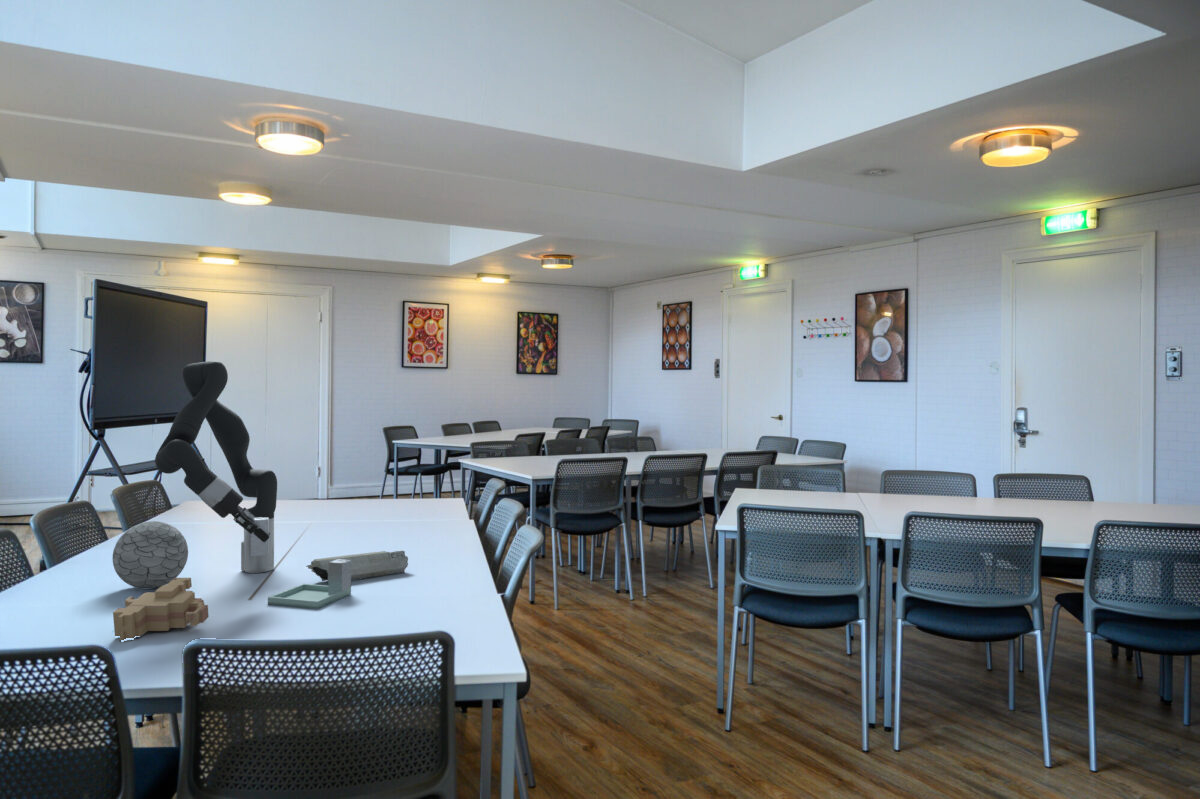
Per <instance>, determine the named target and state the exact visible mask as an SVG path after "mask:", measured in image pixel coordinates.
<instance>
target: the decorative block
mask: <svg viewBox="0 0 1200 799" xmlns="http://www.w3.org/2000/svg"><path fill="white" fill-rule="evenodd" d="M405 553H406V551H405V550H395V551H384V550H383V551H382V550H381V551H373V552H372V551H371V552H363V553H356V554H346V555H338V556H331V557H323V558H315V559H313V560H311V562H310V564H307V565H306V568H307V569H308V570H309V569H310V570H311V572H312V573H314V574H315V576H317V577H319V578H320V579H321V582H326V581H327V582H328V580H329V562H331V561H334V560H337V559H343V560H351V581H354V580H353V579H356V580H361V579H360V578H363V579H368V578H367V577H369V578H374V577H373V576H376V577H380V576H379V575H383V576H388V575H387V574H390V575H394V574H393V573H396V574H401V573H400V572H402V573H405V572H406V569H407V568H408V566H409V562H408V561H409V557H408V556H406V554H405ZM404 571H405V572H404Z"/></svg>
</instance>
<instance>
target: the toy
mask: <svg viewBox="0 0 1200 799" xmlns="http://www.w3.org/2000/svg"><path fill="white" fill-rule="evenodd" d="M192 585H193V584H192V577H176V578H174V580H172V581H170V582H169V583H168V584H166V585H162V586H161V587H158V588H156V590H155V591H154V592H144V593H143V594H141V595H140V596H139V597H137V598H134V596H129V597H128V598H126V599H125V600H124V605H125V607H118V608H117V609H115V610H114V611H113V612H112V616H113V619H112V620H113V628H114V637H115V636H120V638H119V641H120V640H124V639H126V638H134V637H135V636H141V635H142V634H143V635H144V634H145V633H147V632H168V631H169V630H171V629H174V628H175V629H181V628H182V629H185V628H186V627H187V626H188V625H189V626H190V627H194V626H195V627H197V626H198V625H199V624H203V623H205V621H206V620H207V619H208V618H209V604H205V602H204V599H202V598H198V597H197V598H196V594H195V591H193V590H189V589H191V587H192ZM143 635H142V636H143ZM142 636H141V637H142Z"/></svg>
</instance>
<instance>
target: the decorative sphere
mask: <svg viewBox="0 0 1200 799" xmlns="http://www.w3.org/2000/svg"><path fill="white" fill-rule="evenodd" d="M188 557H189V547H188V544H187V540H186V538H185V536H184V535H183V534H182V532H181V531H180V530H179V529H178V528H177V527H176V526H175V527H174V526H173V525H171V524H169V523H166V522H163V521H156V520H153V521H151V520H150V521H145V522H141V523H138V524H136V525H133V526H131V527H130V528H128V529H127V530H126V531H124V533H123V534H122V535H121V536H120V537H119V538H118V540H117V541H116V543H115V546H114V548H113V551H112V565H113V569H114V571H115V573H116V575H117V576H118V577H119V578H120V580H122V581H123V582H124V583H126V584H127V585H128V586H130V587H134V588H136V589H141V588H153V589H157V588H156V587H158V588H160V587H161V586H162V585H167V584H168V583H169V582H170V581H172V580H174V578H178V576H179V575H181V573H182V572H183V571H184V568H185V567H186V564H187V563H188Z"/></svg>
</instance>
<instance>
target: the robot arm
mask: <svg viewBox="0 0 1200 799" xmlns="http://www.w3.org/2000/svg"><path fill="white" fill-rule="evenodd" d="M228 375H229V374H228V370H227V368H226V366H225V365H224V363H222V362H221V361H219V360H210V361H202V362H201V361H200V362H193V363H189V364H186V365H185V366H184V367H183V370H182V378H183V380H182V381H183V383H184V385H185V387H186V389H187V392H189V394H190V396H191V398H192V399H191V400H190V401H188V402H187V403H186V404H185V405H184V406H183V407H181V409H180V410H179V411H178V413H177V414H176V416H175V417H174V419H173V422H172V424H171V426H170V429H169V431H168V435H167V436H166V437H165V439H164V441H163V442H162V443H161V445H160V447H159V448H158V451H157V452H156V454H155V458H154V464H155V466H156V468H157V470H159V471H160V472H161V473H163V474H173V473H176V472H178V471H180V470H181V469H182V470H183V472H184V474H185V476H184V479H183V482H184V484H185V485H186V487H187V488H189V489H190V490H191V491H192V492H193V493H194V494H195V495H196V496H198V497H199V498H200V499H201V500H202V502H203V503H204V504H205V505H207V506H208V507H209V508H210V509H211V510H213V511H214V512H215V513H216V514H217V515H218V516H219V517H221V518H222V519H224V518H226V517H228V516H229V515H231V516H232V517H233V521H234V522H235V523H236V524H238V525H239V526H240V527H241V528H242V529H243V541H241V542H240V546H241V547H240V570H242V571H241V572H244V571H245V572H244V573H250V574H251V573H252V574H256V573H258V574H260V573H265V572H266V573H267V572H271V571H273V570H274V569H275V512H276V508H277V500H278V499H277V496H278V495H277V494H278V478H277V475H276V473H275V472H274V471H272V470H270V469H256V468H253V467H252V465H251V463H250V461H249V459H248V456H247V455H248V449H249V445H250V439H251V438H250V434H249V431H248V430H247V428H246V425H245V423H244V421H243V419H242V418H241V417H240V415H238V414H237V412H235V411H233V410H232V409H230V408H228V407H227V406H226V405H224V404H223V403H221V402H220V401H219V400H218V398H219V397H220V395H221V394H222V393H223V391H224V390H225V389H226V386H227V383H228V381H229V380H228V378H229V376H228ZM205 420H206V421H207V423H208V425H209V427H210V429H211V432H212V434H213V436H214V438H215V440H216V441H217V444H218V445H219V447H220V449H221V450H222V452H223V455H224V457H225V459H226V461H227V464H228V465H229V467H230V469H231V471H230V472H232V476H233V478H234V481H235V484H236V486H237V489H238V490H239V492H240V494H239V493H238V492H237V491H236V490H235V489H234V488H232V486H230V485H229V484H228V483H227V482H226V481H224V480H223V479H222V478H220V477H218V475H217V474H215V473H214V472H213V471H212V470H211V469H209V467H208V466H206V463H204V461H203V459H202V458H201V456H200V455H199V453H198V451H196V449H195V448H194V447H193V444H194V443H195V441H196V440H197V438H198V435H199V432H200V431H201V428H202V425H203V423H204V421H205ZM241 495H242V496H241ZM243 496H244V497H246V498H256V501H255V504H254V506H252V507H249V508H246V507H241V506H240V504H241V503H242V502H243V500H244V498H243ZM259 517H269V535H268V534H267V533H265V532H264V531H263V530H262V529H261V528H260V527H259V526H258V525H257V524H256V523H255V520H254V519H253V518H259ZM251 525H253V527H252V528H251ZM259 528H260V529H259ZM251 534H254V535H256V536H257V537H258V538H259V539H260V540H261V541H263V542H266V541H267V540H268V539H269V546H268V555H259V556H251Z"/></svg>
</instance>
